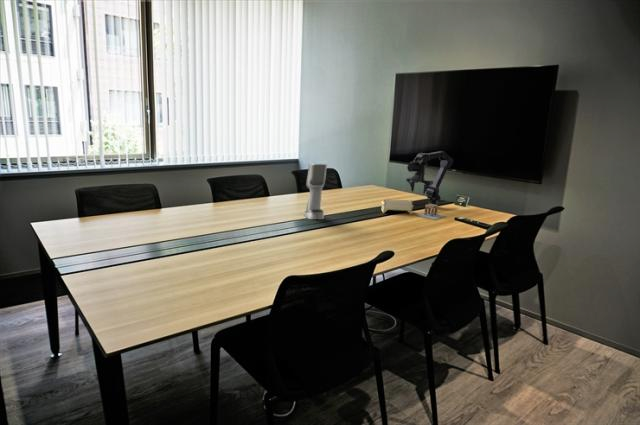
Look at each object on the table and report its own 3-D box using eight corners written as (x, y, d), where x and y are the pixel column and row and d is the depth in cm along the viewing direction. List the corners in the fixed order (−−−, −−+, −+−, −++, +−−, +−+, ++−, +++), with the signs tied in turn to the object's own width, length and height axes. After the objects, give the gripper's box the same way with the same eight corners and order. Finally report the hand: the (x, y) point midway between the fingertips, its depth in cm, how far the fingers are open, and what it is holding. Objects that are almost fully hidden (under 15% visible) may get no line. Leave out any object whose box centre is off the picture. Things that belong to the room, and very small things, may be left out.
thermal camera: (308, 220, 262) (310, 164, 253) (302, 214, 274) (305, 161, 265) (325, 219, 266) (329, 164, 257) (320, 214, 277) (322, 161, 269)
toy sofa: (409, 211, 298) (411, 197, 295) (412, 214, 289) (414, 200, 287) (380, 210, 297) (381, 196, 294) (382, 213, 289) (383, 198, 286)
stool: (428, 213, 293) (429, 203, 291) (436, 215, 289) (437, 205, 287) (424, 214, 289) (425, 204, 287) (432, 216, 285) (433, 206, 283)
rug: (427, 212, 298) (427, 211, 298) (445, 216, 289) (446, 215, 289) (416, 215, 286) (416, 215, 286) (434, 220, 277) (435, 219, 277)
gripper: (403, 170, 299) (401, 191, 303) (426, 174, 287) (424, 196, 291) (411, 169, 307) (409, 190, 311) (434, 172, 295) (432, 194, 299)
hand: (418, 192), depth 303 cm, fingers open, 9 cm apart
